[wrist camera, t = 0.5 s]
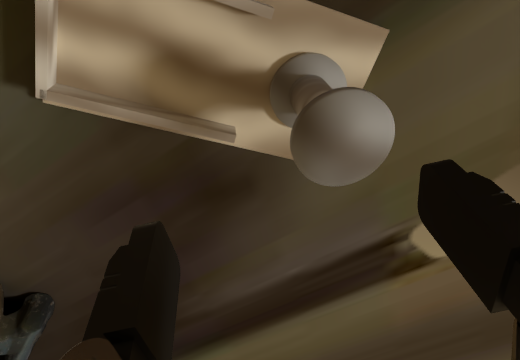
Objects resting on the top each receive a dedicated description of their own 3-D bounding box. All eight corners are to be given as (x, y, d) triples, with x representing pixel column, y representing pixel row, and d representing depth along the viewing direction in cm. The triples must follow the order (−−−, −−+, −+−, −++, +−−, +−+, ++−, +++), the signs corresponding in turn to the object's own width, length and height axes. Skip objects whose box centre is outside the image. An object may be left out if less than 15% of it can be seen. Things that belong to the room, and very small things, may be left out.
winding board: (52, -91, 25) (-59, -126, 15) (382, 27, 32) (464, 59, 21) (49, 96, 31) (-28, 162, 21) (322, 160, 38) (362, 233, 28)
